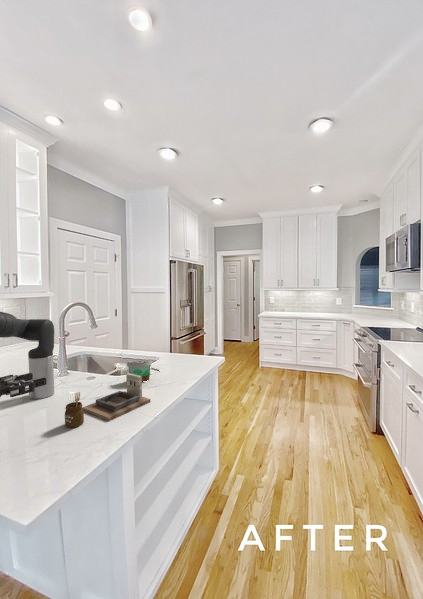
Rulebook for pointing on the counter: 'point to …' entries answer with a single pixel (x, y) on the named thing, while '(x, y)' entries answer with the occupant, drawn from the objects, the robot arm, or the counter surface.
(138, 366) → the food container
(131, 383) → the charging dock
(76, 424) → the utensil holder
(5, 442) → the counter surface
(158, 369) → the phone case
